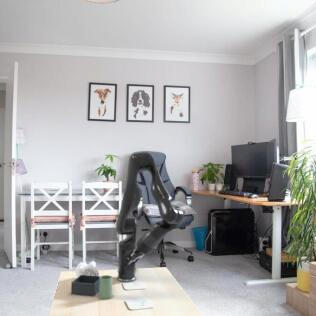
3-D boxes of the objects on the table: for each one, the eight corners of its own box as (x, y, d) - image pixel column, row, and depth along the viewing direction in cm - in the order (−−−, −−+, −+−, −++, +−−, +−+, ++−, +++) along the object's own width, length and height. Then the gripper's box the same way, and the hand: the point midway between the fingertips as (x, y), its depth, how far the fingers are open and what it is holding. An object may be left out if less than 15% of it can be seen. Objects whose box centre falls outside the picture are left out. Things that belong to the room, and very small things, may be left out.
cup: (101, 293, 166) (101, 274, 166) (113, 294, 165) (114, 275, 165) (97, 298, 160) (97, 278, 160) (109, 299, 159) (110, 279, 159)
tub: (80, 285, 176) (81, 274, 176) (102, 287, 174) (102, 276, 174) (71, 294, 164) (71, 282, 165) (94, 296, 162) (94, 284, 163)
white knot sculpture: (78, 275, 191) (78, 259, 191) (100, 275, 192) (100, 259, 192) (74, 282, 180) (75, 265, 180) (98, 282, 181) (98, 265, 181)
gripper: (150, 233, 162) (129, 256, 166) (136, 237, 149) (113, 262, 153) (161, 245, 159) (139, 268, 163) (147, 250, 146) (124, 275, 150)
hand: (127, 265), depth 158 cm, fingers open, 8 cm apart
